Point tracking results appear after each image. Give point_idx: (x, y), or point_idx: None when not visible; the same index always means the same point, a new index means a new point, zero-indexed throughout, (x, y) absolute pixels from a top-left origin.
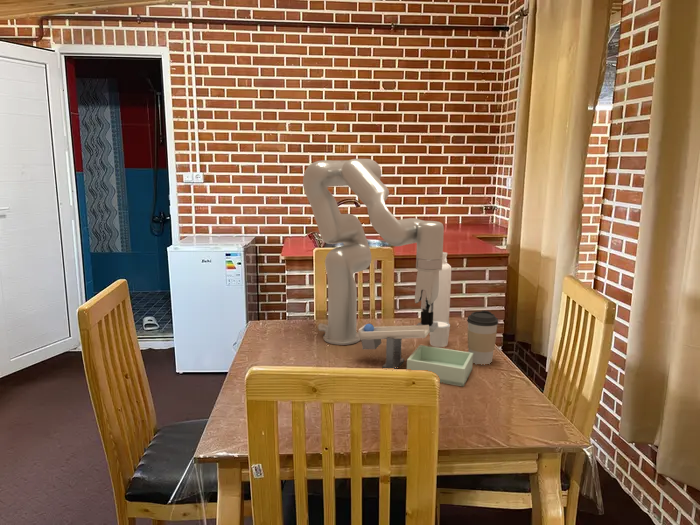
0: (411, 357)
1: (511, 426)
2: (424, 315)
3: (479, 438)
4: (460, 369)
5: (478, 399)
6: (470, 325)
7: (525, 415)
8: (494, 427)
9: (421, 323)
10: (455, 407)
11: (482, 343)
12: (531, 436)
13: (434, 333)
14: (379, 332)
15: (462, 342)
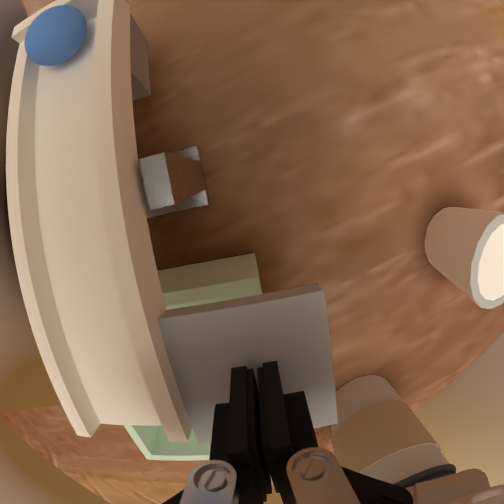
0: None
1: (97, 477)
2: (212, 454)
3: (40, 447)
4: (143, 451)
5: (129, 448)
6: None
7: (141, 491)
8: (75, 463)
9: (232, 372)
10: (69, 421)
11: None
12: (98, 489)
13: (454, 250)
14: (8, 143)
15: None
